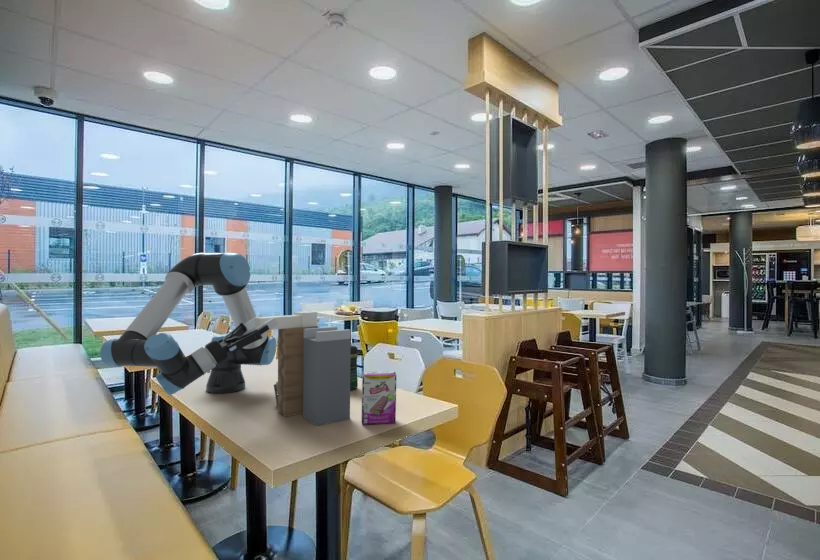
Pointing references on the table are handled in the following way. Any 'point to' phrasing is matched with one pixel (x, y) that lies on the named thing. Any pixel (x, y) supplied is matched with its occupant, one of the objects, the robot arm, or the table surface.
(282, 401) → the tall wooden block stack
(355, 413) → the table surface
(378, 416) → the candy bar box
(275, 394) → the electrical switch
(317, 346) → the socket block
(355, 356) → the coffee jar
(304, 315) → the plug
